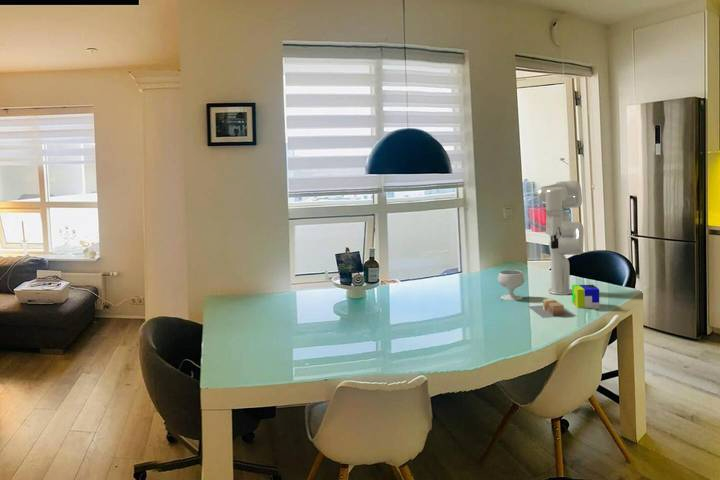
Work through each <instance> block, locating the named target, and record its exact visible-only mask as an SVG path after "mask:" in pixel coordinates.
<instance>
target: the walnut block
mask: <svg viewBox="0 0 720 480" xmlns="http://www.w3.org/2000/svg"><path fill="white" fill-rule="evenodd" d="M542 305H543V309H544V310H545V311H546V312H548V313H549V314H551V315H552V316H564V308H565V307H564V304H562V303H561V302H559V301H557V300H556V299H554V298H548V299H547V298H545V299H542Z"/></svg>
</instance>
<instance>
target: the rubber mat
mask: <svg viewBox="0 0 720 480" xmlns="http://www.w3.org/2000/svg"><path fill="white" fill-rule="evenodd" d="M527 308H529V309H530V310H532V312H534V313H536V314H537V315H539V316H540V317H541V318H542V319H545V318H547V319H549V318H561V317H562V318H564V317H565V318H566V317H576V316H577V315H576V314H575V313H574V312H571V311H570V310H568V309H567V308H565V307H564V316H552V315H551V314H549V313H548V312H546V311H545V310H544V309H543V304H542V305H528V306H527Z"/></svg>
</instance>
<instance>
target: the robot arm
mask: <svg viewBox="0 0 720 480" xmlns="http://www.w3.org/2000/svg"><path fill="white" fill-rule="evenodd" d="M537 200H538V201H539V202H541V203H545V217H546V219H545V234H546V235H548V236H549V237H550V238H549V239H550V240H549V241H548V248H549V253H550V254H549V255H550V275H551V277H550V280H551V281H550V282H551V283H550V286H551V288H549V289H548V293H550V294H553V295H559V296H560V295H561V296H562V295H563V296H564V295H567V296H568V295H572V288H570V283H571V282H570V261H569V259H568V258H567V257H566V256H567V255H568V256H569V255H571V256H574V255H575V256H577V255H578V256H579V255H581V254H583V252H584V241H585V240H584V237H585V234H584V231H585V230H584V225H583V224H582V223H581V222H580V221H579V222H578V221H570V220H571V217H570V214H569V213H568V212H567V211H566V210H564V209H571V208H573V209H575V208H579V207H581V206H582V204H583V195H582V188H581V184H580V182H578V180H566V181H558V182H555V183H554V184H549V185H545V186H541V187H539V189H538V192H537Z"/></svg>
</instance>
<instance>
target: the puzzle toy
mask: <svg viewBox="0 0 720 480" xmlns="http://www.w3.org/2000/svg"><path fill="white" fill-rule="evenodd" d="M571 290H572V293H571V295H572V296H571V297H572V298H571V302H572V303H573V305H574V306H575V307H576V308H577V309H592V310H594V309H595V310H599V309H600V289H599V288H598V287H597V286H595V285H594V284H572V285H571Z"/></svg>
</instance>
